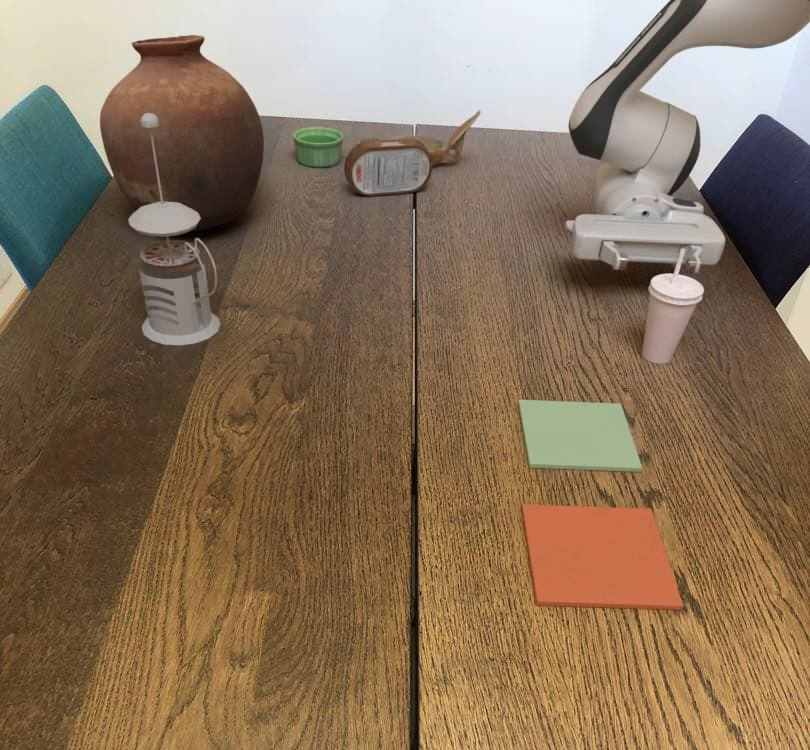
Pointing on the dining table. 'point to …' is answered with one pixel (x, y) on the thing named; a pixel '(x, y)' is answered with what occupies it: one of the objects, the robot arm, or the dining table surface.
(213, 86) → the pottery
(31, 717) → the dining table surface
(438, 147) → the oil lamp
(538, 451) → the sage mat
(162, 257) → the french press
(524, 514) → the terracotta mat
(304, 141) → the ramekin
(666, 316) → the smoothie
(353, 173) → the tin
